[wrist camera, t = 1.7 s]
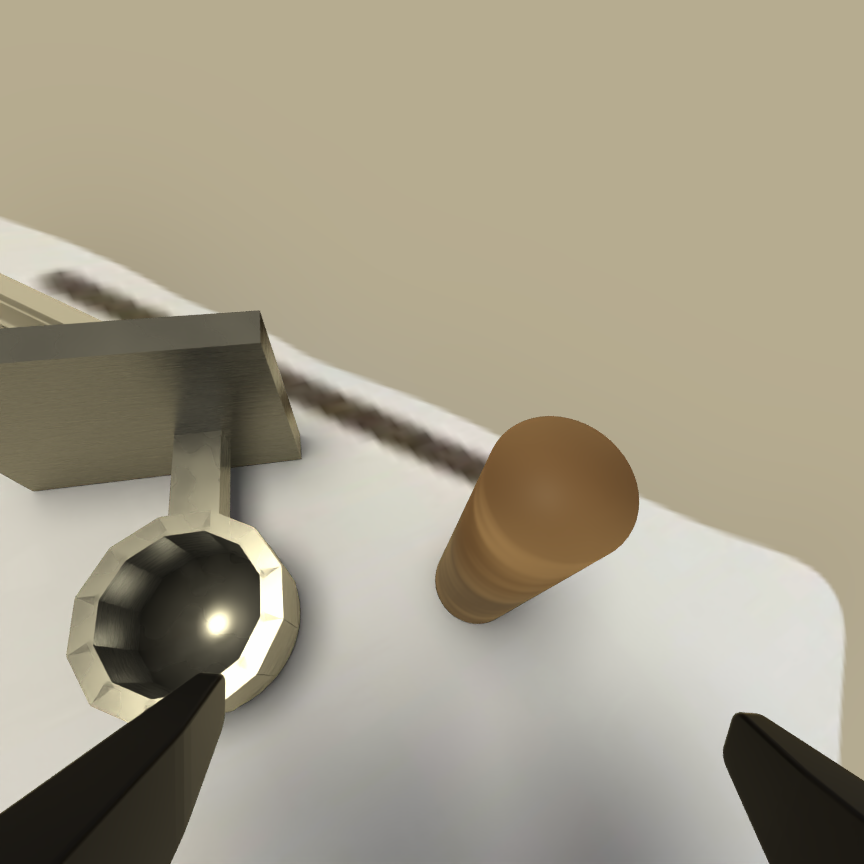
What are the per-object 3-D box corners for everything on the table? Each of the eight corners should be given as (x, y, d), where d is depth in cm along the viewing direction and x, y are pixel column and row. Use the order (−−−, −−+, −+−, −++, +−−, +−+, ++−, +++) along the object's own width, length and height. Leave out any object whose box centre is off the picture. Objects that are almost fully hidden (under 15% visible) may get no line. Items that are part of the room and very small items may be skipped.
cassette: (-3, 353, 27) (-129, 244, 21) (24, 331, 28) (-89, 219, 21) (173, 441, 26) (99, 355, 19) (195, 414, 27) (133, 323, 20)
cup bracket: (315, 694, 21) (267, 702, 12) (-24, 762, 19) (-383, 831, 10) (299, 434, 27) (259, 310, 18) (38, 463, 24) (-155, 339, 16)
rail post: (524, 615, 23) (663, 548, 12) (443, 630, 23) (507, 575, 11) (504, 535, 25) (607, 408, 14) (428, 547, 24) (471, 424, 13)
